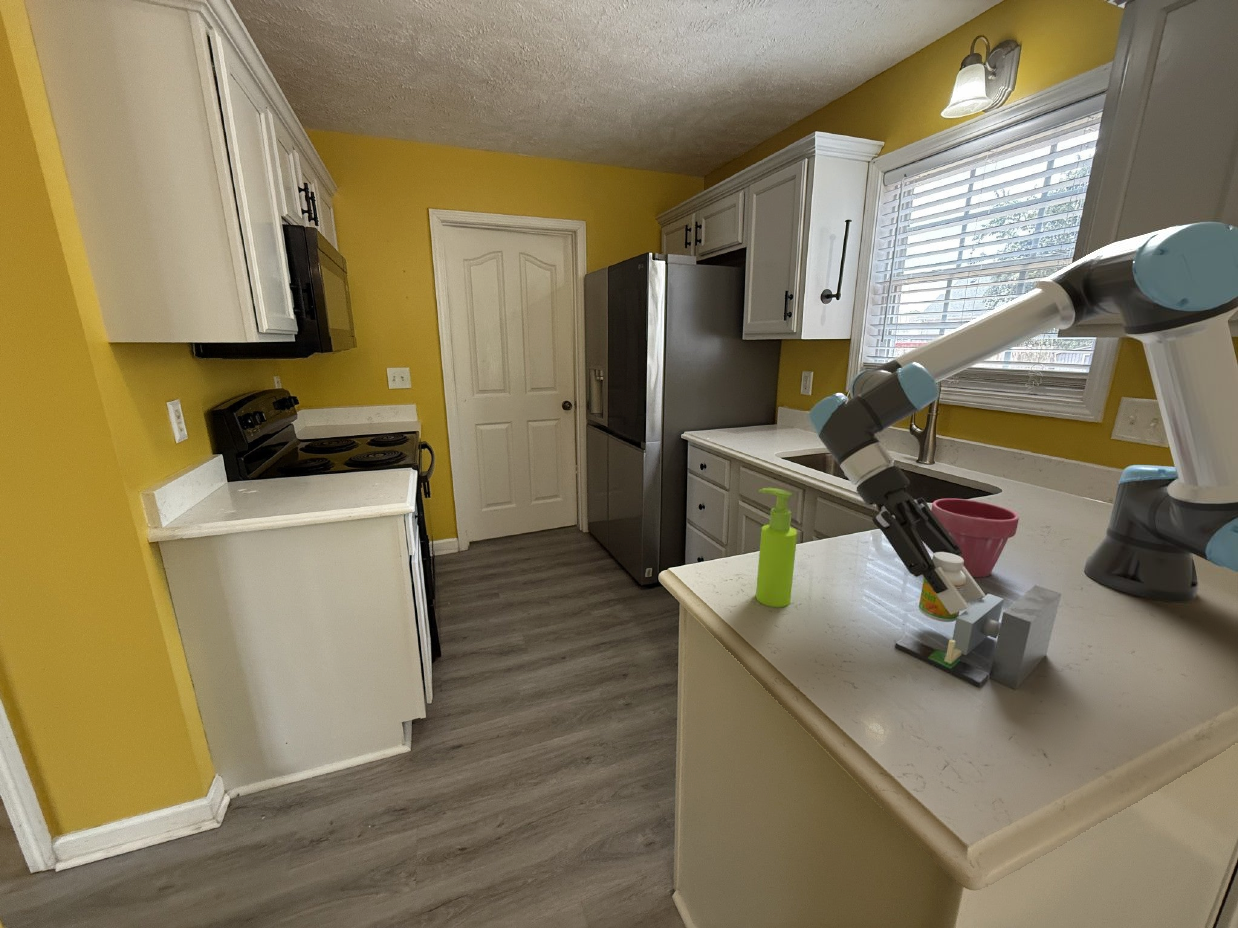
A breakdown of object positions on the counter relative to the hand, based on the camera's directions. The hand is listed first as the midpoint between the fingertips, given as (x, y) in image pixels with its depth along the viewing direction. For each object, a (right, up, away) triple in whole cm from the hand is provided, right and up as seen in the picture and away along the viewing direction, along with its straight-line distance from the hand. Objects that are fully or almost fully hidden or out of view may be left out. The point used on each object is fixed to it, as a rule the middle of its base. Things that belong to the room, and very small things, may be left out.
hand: (968, 604), depth 75 cm
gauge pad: (0, -6, -2) cm, 6 cm away
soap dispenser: (-26, -3, +14) cm, 29 cm away
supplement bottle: (-2, -3, +4) cm, 5 cm away
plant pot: (+18, 0, +27) cm, 32 cm away
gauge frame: (0, -7, -1) cm, 7 cm away
